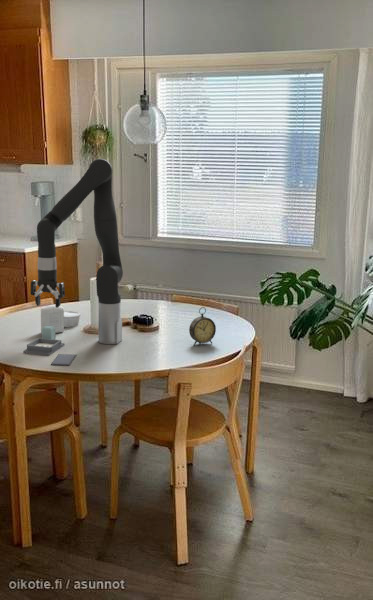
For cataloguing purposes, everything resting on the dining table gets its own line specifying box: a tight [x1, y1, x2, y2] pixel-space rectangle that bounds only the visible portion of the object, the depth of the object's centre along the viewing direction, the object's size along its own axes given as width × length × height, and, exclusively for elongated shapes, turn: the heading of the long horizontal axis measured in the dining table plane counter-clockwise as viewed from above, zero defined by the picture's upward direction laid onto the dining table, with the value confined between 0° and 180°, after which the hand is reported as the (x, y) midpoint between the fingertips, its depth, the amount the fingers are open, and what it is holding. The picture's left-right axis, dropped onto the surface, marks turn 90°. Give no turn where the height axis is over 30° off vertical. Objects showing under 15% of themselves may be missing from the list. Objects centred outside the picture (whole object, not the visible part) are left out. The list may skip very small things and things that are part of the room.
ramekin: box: [64, 310, 81, 328], centre depth 271 cm, size 11×11×5 cm
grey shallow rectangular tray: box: [22, 337, 66, 356], centre depth 236 cm, size 11×14×3 cm
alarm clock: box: [188, 306, 217, 347], centre depth 248 cm, size 11×5×16 cm, turn 117°
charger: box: [41, 326, 56, 340], centre depth 246 cm, size 4×4×6 cm
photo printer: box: [40, 304, 65, 335], centre depth 258 cm, size 10×4×12 cm, turn 123°
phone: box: [50, 353, 77, 367], centre depth 224 cm, size 7×12×1 cm, turn 178°
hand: (47, 306), depth 243 cm, fingers open, 8 cm apart
